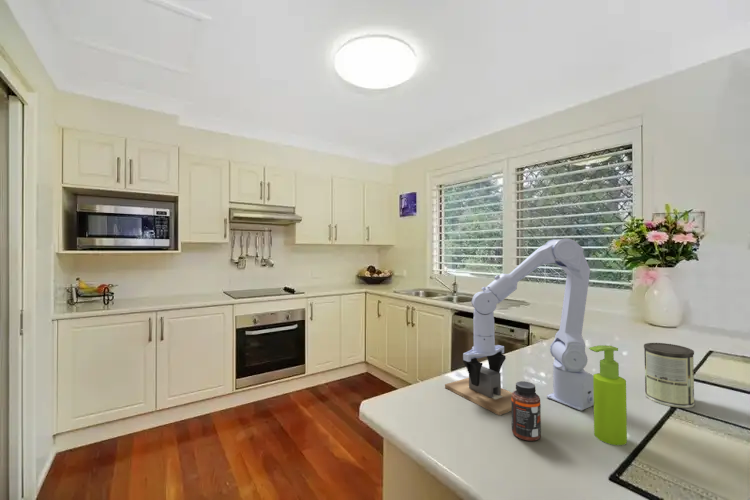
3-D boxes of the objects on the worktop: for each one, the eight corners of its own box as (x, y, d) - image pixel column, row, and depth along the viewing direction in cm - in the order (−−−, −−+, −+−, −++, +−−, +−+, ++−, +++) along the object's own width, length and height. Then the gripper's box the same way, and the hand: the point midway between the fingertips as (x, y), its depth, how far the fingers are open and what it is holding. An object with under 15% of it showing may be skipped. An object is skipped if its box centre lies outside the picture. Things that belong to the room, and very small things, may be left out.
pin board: (529, 403, 90) (529, 392, 90) (499, 415, 84) (499, 403, 84) (473, 379, 107) (473, 370, 107) (444, 387, 101) (444, 377, 101)
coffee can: (638, 389, 98) (637, 341, 98) (682, 394, 94) (681, 344, 94) (654, 405, 88) (653, 351, 88) (704, 410, 85) (703, 355, 85)
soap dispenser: (583, 431, 76) (582, 343, 76) (612, 429, 77) (610, 342, 77) (603, 446, 70) (601, 351, 70) (634, 444, 71) (632, 349, 71)
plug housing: (500, 394, 93) (500, 373, 93) (490, 398, 91) (490, 376, 91) (478, 384, 100) (478, 364, 100) (469, 387, 98) (468, 367, 98)
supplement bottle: (544, 443, 72) (543, 390, 72) (514, 441, 73) (514, 388, 73) (536, 429, 77) (536, 380, 77) (509, 426, 79) (508, 378, 79)
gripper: (490, 328, 103) (491, 372, 103) (455, 334, 95) (455, 382, 95) (509, 332, 96) (510, 380, 96) (473, 340, 89) (474, 391, 89)
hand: (484, 382), depth 96 cm, fingers open, 7 cm apart
